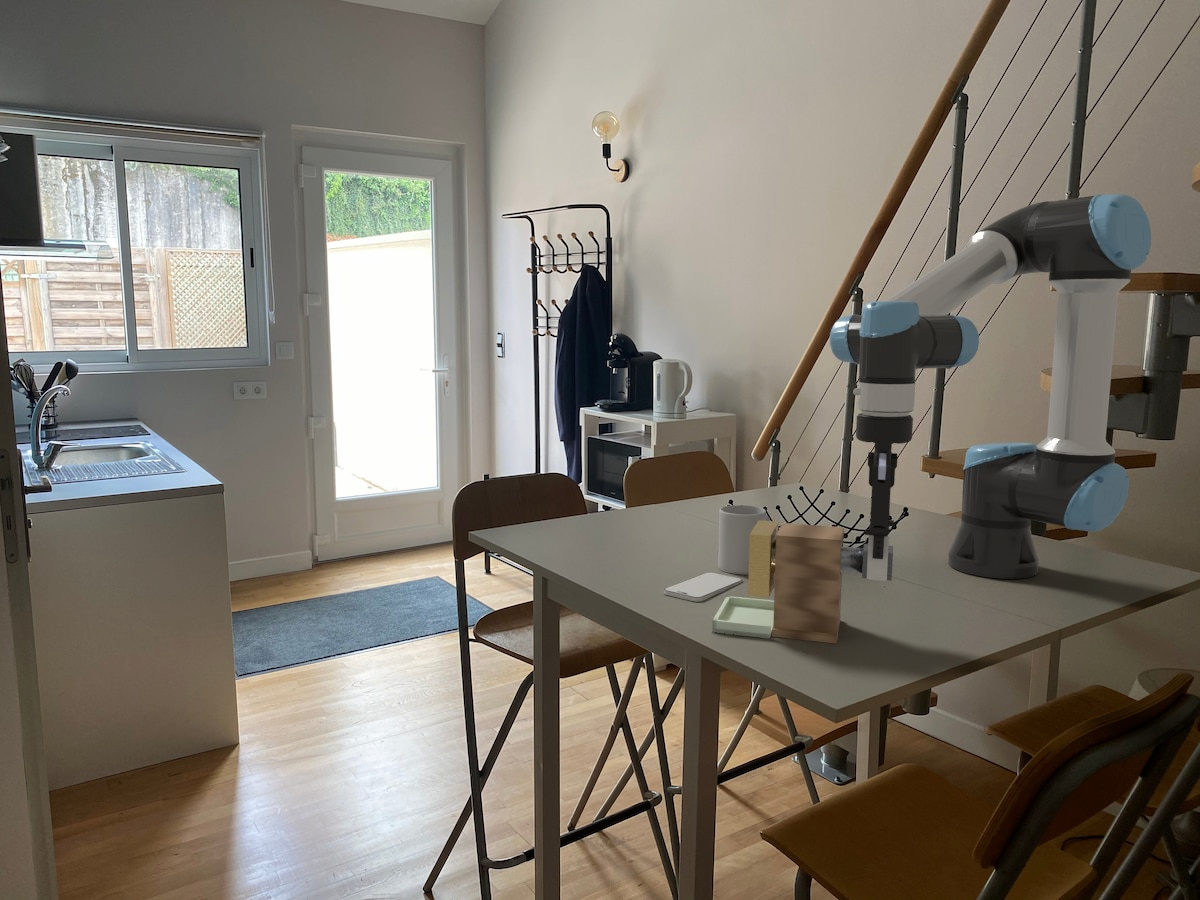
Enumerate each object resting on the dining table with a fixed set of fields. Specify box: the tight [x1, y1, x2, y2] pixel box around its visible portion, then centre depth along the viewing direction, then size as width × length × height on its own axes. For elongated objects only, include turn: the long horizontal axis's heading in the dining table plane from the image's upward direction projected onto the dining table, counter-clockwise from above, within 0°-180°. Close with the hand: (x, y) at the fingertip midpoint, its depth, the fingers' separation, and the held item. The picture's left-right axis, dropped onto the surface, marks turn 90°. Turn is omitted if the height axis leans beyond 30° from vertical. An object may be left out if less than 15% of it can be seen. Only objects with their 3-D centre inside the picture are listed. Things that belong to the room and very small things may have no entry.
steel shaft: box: [771, 541, 894, 581], centre depth 129 cm, size 20×4×4 cm, turn 72°
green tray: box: [711, 595, 774, 639], centre depth 134 cm, size 8×12×2 cm
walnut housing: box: [771, 522, 845, 644], centre depth 130 cm, size 9×10×15 cm
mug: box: [717, 504, 771, 576], centre depth 162 cm, size 12×8×11 cm
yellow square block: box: [747, 520, 779, 599], centre depth 131 cm, size 3×9×9 cm, turn 162°
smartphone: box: [663, 572, 743, 603], centre depth 151 cm, size 7×1×15 cm
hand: (876, 574), depth 127 cm, fingers closed on steel shaft, 4 cm apart
